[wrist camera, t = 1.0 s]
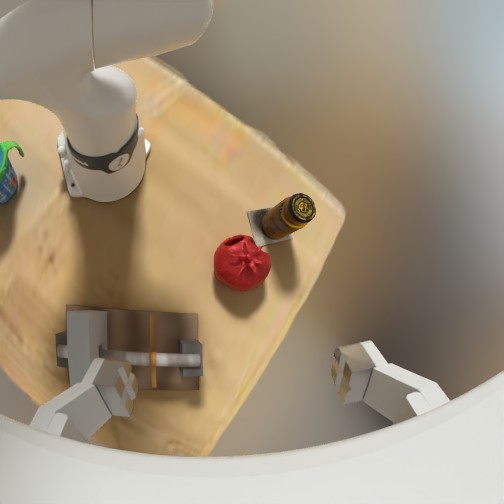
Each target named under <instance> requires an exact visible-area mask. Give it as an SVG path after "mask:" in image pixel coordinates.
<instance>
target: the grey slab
mask: <svg viewBox="0 0 504 504" xmlns="http://www.w3.org/2000/svg"><path fill="white" fill-rule="evenodd" d="M67 348H68V365H69V377H70V386H71V387H72V386H73V385H75V384H76V383H81V382H82V380H83V378H84V376H85V374H86V372H87V371H88V369H89V367H90V365H91V363H92V361H93V360H94V359H95V358H99V349H103V350H108V349H107V312H105V311H94V310H84V311H67Z"/></svg>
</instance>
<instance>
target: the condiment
mask: <svg viewBox="0 0 504 504" xmlns="http://www.w3.org/2000/svg"><path fill="white" fill-rule="evenodd" d="M247 213H248V217H249V221H250V225H251V229H252V233H253V236H254V239H255V243H256V246H257V247H259V246H263V245H268V244H272V243H277V242H281V241H286V240H290V239H293V237H292V233H293V232H295V231H297V230H299V229H301V228H303V227H304V226H305V225H306V224H307V223H308V222H310V221H311V220H312V219H313V218H314V217H315V213H316V208H315V204H314V202H313V201H312V199H311V198H310V197H308V196H307V195H305V194H302V193H299V194H295V195H293V196H292V197H287V198H285V199H284V200H283V201H281V202H280V203H279V204H277V205H276V206H275V207H274V208H267V209H261V210H255V211H248V212H247ZM262 234H263V235H262ZM264 235H265V236H264Z"/></svg>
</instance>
